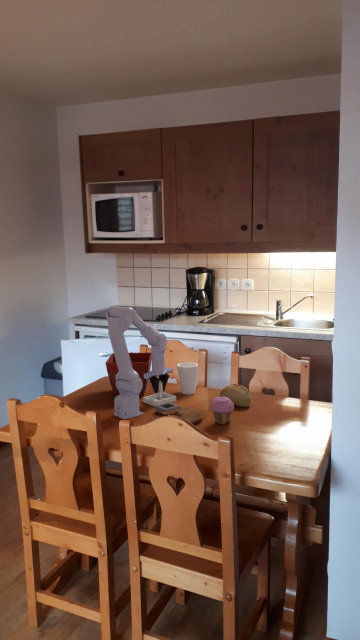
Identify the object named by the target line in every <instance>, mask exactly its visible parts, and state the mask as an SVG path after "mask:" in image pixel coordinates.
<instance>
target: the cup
mask: <svg viewBox="0 0 360 640" xmlns="http://www.w3.org/2000/svg"><path fill="white" fill-rule="evenodd" d="M154 407H155V409H154V410H155V413H157V412H166V411H169V410H172V409H179V408H180V409H181V405H178V404H175V403H174V402H171V403H170V402H167V403H164V404H160V405H157V406H154Z"/></svg>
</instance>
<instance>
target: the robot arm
mask: <svg viewBox="0 0 360 640" xmlns="http://www.w3.org/2000/svg"><path fill="white" fill-rule="evenodd" d="M105 318H106V321H107V331H108V332H107V333H108V337H109V341H110V343H111V348H112V353H114V355H115V359H116V363H117V366H118V370H119V372H118V373H117V375H116V376H115V377H116V388H117V389H118V390H119V393H121V394H120V395H118V396H115V398H114V400H113V401H114V402H113V403H114V413H113V415H114V416H116V417H118V418H120V419H123V420H128V419H130V418H134V417H138V416H140V415H144V412H142V411H140V397H139V393H140V391H141V390H142V386H143V383H142V380H141V379H140V377H139V374H138V373H137V372H136V371H134V370H133V368H132V364H131V360H130V357H129V353H130V352H129V349H128V345H127V343H126V339H125V332H127V331H128V329H129V328H130V327H131V325H133V326H134V327H135V328H137V329H138V330H139V333H140V335H141V336H142V337H143V338H144V339H145V340H146V341H147V345H148V346H150V348H151V349H150V351H151V352H150V353H151V358H152V360H151V370H150V372H148V373H145V374H144V378H145V379H148V382H150V385H151V386H152V391H153V392H154V394H156V393H158V384H159V380H163V392H165V390H166V387H167V384H168V380H169V379H170V377H171V375H170V374H172V373H174V368H173V367H166V353H165V352H166V350H167V344H168V337H167V336H166V334H164V333H160V331H159V329H156V328H155V327H154V324H152V323H145V321H144V320H143V319H142V318H141V317H140V316H139V315H138V313H137V311H136V310H135V309H134V308H133V307H131V306H127V307H126V306H125V307H124V306H116V305H112V306H110V307H109V308H108V310H107V312H106V314H105Z"/></svg>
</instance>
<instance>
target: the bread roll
mask: <svg viewBox="0 0 360 640" xmlns="http://www.w3.org/2000/svg"><path fill="white" fill-rule="evenodd" d="M219 397H227V398H229V399H230V400H231V401H232V402H233V404H234V406H237V407H240V408H247V407H249V406H250V405H251V402H252V397H251V395H250V391H249V390H248V388H247V387H245V386H244V385H241V384H236V383H233V384H230V385H227V386H225V387H224V388H222V389H221V390H220V393H219Z"/></svg>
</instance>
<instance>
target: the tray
mask: <svg viewBox="0 0 360 640" xmlns="http://www.w3.org/2000/svg"><path fill="white" fill-rule="evenodd" d="M142 402H143V403H145V404H147V405H150V406H152V407H155V406H157V405H160V404H164V403H167V402H170V403H174V402H177V396H176V395H173V394H169V393H167V392H165V391H164V392H163V399H162V400H157V399H156V393H154V394H151V395H148V396H142Z"/></svg>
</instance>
